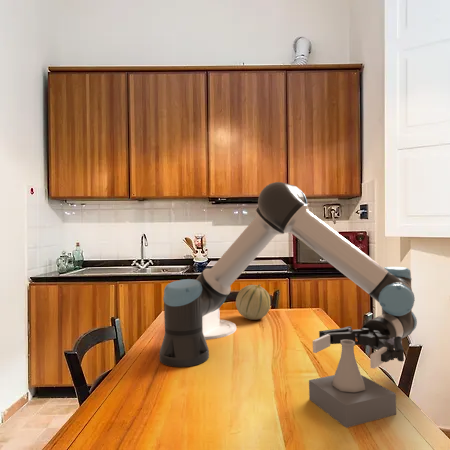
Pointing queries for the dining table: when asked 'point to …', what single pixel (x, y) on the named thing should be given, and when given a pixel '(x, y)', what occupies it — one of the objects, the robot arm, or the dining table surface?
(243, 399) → the dining table surface
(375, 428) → the dining table surface
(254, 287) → the cantaloupe
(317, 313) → the dining table surface
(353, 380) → the flask
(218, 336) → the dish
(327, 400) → the riser block
